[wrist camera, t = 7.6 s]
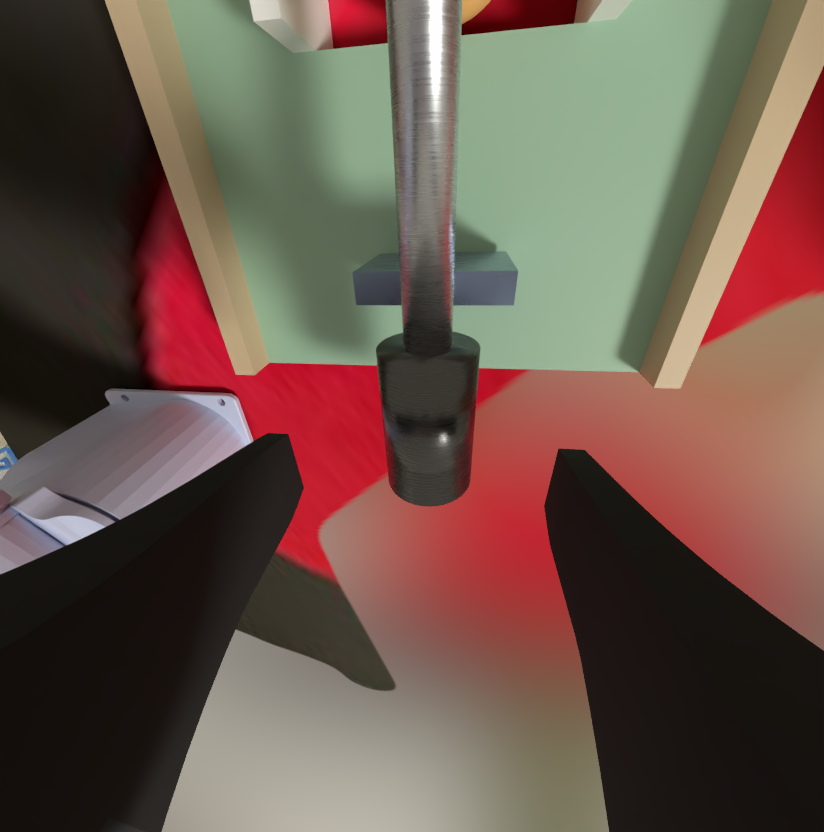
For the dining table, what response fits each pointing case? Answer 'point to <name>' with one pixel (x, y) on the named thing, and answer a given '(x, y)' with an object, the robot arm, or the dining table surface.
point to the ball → (472, 8)
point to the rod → (429, 265)
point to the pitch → (477, 170)
